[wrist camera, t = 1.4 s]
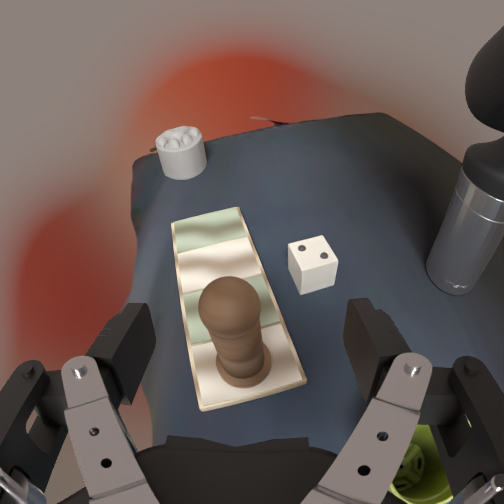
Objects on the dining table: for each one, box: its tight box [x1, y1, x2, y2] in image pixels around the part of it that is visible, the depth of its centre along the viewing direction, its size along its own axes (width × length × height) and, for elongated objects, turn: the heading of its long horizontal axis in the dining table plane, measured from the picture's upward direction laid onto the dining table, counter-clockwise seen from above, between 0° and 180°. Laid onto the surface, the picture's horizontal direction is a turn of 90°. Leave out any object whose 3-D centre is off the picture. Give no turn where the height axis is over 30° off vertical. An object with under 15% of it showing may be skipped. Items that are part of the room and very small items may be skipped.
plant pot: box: [388, 421, 471, 504], centre depth 20 cm, size 9×9×9 cm
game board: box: [171, 207, 307, 412], centre depth 41 cm, size 32×12×2 cm, turn 15°
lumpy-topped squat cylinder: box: [156, 126, 207, 180], centre depth 65 cm, size 10×13×9 cm
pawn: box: [198, 276, 271, 388], centre depth 27 cm, size 6×6×14 cm
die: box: [288, 235, 338, 295], centre depth 40 cm, size 5×5×5 cm
